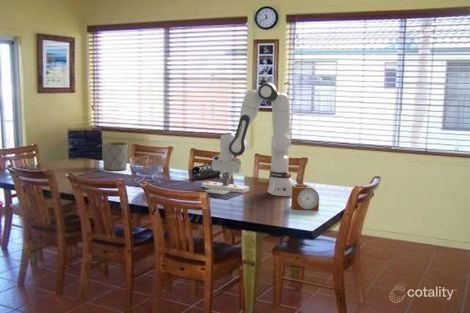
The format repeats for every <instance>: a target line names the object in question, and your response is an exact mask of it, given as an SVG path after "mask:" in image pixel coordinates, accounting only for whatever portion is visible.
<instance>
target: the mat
mask: <svg viewBox="0 0 470 313" xmlns="http://www.w3.org/2000/svg"><path fill="white" fill-rule="evenodd" d="M205 191H206V192H205V193H211V194H217V195H226V194H228V193H230V192H231V191H225V190H217V189H210V188H207V189H206V190H205Z"/></svg>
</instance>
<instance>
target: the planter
mask: <svg viewBox="0 0 470 313" xmlns="http://www.w3.org/2000/svg"><path fill="white" fill-rule="evenodd" d="M101 145H102V147H101V148H102V149H101V150H102V162H103V164H102V165H103V169H104V170H108V171H111V172H116V171H124V170H126V171H127V166H128V165H127V164H128V149H129V144H128V143H127V142H122V141H121V142H120V141H119V142H118V141H117V142H116V141H113V142H111V141H110V142H102V144H101Z"/></svg>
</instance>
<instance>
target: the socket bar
mask: <svg viewBox="0 0 470 313" xmlns="http://www.w3.org/2000/svg"><path fill="white" fill-rule="evenodd" d="M202 187H205V188H204V189H216V190H224V191H230V192H231V193H232V192H234V193H243V194H244V193H245V192H249V191H250V185H249V186H248V185H241V184H232V183H230V184H229V185H223V182H217V181H209V180H208V181H205V182H202V183H201V188H202Z"/></svg>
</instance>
